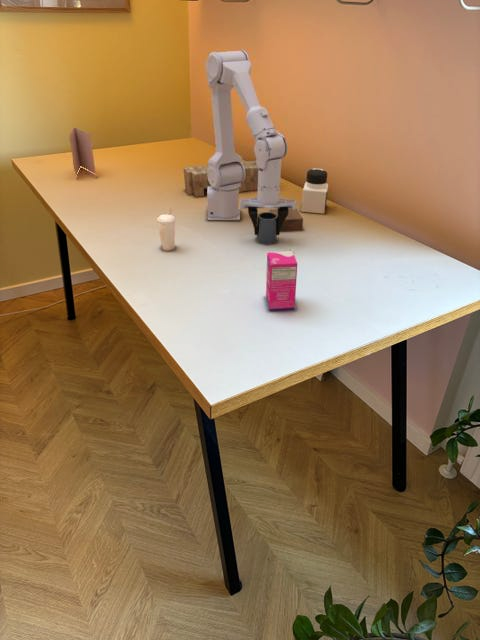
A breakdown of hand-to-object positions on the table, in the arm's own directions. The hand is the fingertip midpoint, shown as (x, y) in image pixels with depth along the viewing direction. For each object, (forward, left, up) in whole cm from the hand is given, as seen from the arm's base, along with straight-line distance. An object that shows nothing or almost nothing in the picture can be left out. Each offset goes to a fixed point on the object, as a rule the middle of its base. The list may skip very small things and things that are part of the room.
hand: (266, 233), depth 140 cm
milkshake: (-26, -5, -2) cm, 27 cm away
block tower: (-10, +40, -2) cm, 41 cm away
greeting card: (-61, +54, -2) cm, 81 cm away
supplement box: (+1, -33, -2) cm, 33 cm away
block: (+6, +10, -2) cm, 12 cm away
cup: (0, 0, -2) cm, 2 cm away
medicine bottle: (+16, +23, -2) cm, 28 cm away
